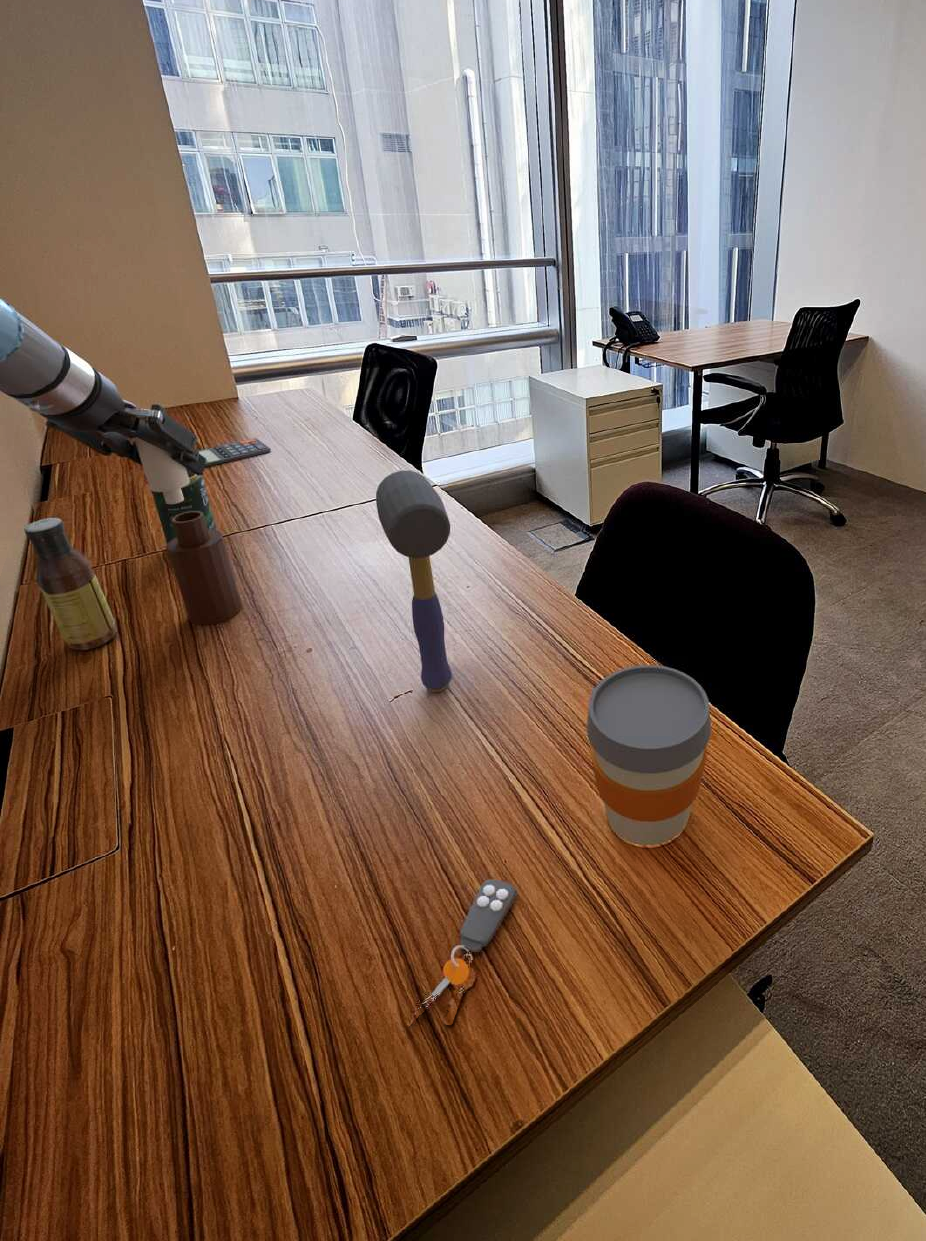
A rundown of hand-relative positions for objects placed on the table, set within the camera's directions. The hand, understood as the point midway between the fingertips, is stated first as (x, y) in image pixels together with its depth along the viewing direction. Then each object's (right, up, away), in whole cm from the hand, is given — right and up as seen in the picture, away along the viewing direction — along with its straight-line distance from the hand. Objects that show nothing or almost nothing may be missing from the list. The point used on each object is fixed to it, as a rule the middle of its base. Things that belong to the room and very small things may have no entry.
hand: (182, 467), depth 100 cm
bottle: (0, -23, +8) cm, 24 cm away
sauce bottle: (-14, -26, +1) cm, 30 cm away
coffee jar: (-16, -14, +28) cm, 36 cm away
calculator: (-37, +6, +73) cm, 82 cm away
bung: (0, -5, -2) cm, 5 cm away
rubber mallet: (+40, -30, -8) cm, 51 cm away
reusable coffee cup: (+69, -39, -26) cm, 83 cm away
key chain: (+52, -45, -40) cm, 80 cm away
